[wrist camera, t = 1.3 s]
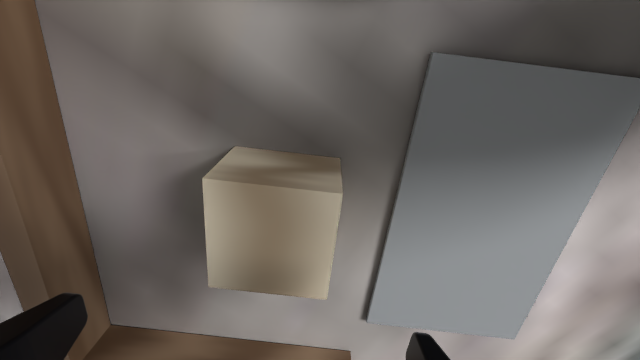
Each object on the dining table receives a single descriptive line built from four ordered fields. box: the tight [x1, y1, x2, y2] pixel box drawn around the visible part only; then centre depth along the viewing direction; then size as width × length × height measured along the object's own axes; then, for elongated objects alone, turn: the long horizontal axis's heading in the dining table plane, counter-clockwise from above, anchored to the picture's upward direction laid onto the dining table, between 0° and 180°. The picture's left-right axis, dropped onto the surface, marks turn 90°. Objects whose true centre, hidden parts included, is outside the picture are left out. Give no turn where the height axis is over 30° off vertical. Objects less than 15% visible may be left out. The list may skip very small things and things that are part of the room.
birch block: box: [202, 146, 343, 300], centre depth 13 cm, size 5×5×4 cm
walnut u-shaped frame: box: [0, 0, 351, 360], centre depth 14 cm, size 17×24×3 cm
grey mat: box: [366, 52, 640, 339], centre depth 15 cm, size 9×15×1 cm, turn 173°
